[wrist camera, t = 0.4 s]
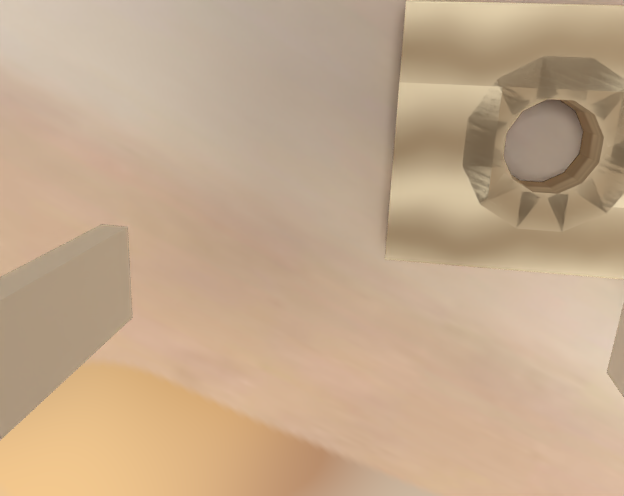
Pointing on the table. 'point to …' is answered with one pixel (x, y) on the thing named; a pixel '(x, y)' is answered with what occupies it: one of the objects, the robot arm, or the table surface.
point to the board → (492, 135)
